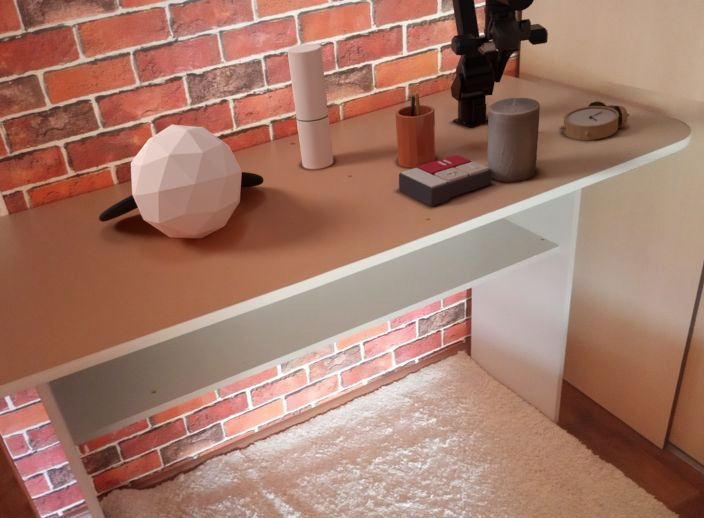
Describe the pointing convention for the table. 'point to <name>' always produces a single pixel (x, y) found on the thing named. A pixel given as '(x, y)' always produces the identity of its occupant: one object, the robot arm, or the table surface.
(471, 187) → the calculator
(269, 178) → the table surface
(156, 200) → the faceted geodesic sphere
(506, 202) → the table surface
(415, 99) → the pencils
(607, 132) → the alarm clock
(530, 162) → the pillar candle
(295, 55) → the cylindrical container
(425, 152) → the pen pot
